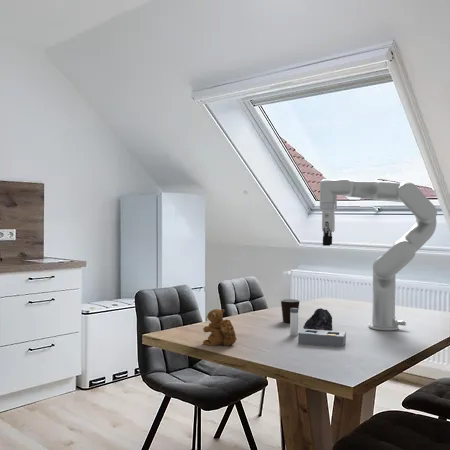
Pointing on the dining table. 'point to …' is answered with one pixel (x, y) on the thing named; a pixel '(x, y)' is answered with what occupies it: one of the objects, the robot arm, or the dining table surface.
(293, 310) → the plug
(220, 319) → the stuffed squirrel
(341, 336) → the socket block
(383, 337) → the dining table surface
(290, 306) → the coffee mug
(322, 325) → the black rock
